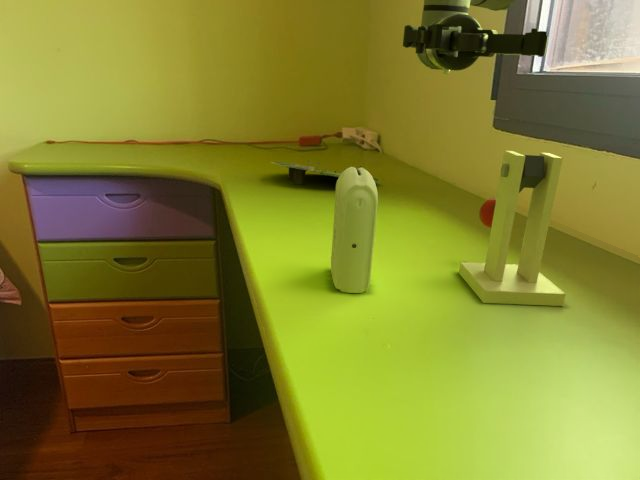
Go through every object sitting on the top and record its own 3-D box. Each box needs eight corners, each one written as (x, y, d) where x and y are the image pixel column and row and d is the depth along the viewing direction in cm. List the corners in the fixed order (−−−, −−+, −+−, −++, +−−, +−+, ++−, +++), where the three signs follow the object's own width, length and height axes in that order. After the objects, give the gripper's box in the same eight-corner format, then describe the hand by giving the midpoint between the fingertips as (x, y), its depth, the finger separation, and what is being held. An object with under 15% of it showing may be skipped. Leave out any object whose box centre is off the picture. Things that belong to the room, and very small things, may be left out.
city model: (404, 196, 146) (409, 166, 143) (333, 192, 128) (338, 157, 126) (316, 181, 160) (320, 153, 158) (242, 175, 143) (245, 144, 141)
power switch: (458, 273, 86) (477, 145, 79) (528, 276, 86) (554, 149, 79) (483, 303, 75) (508, 159, 68) (563, 306, 76) (596, 163, 69)
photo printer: (372, 294, 76) (383, 176, 70) (333, 293, 75) (341, 174, 69) (363, 269, 85) (372, 162, 79) (328, 268, 84) (335, 160, 79)
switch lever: (475, 231, 88) (475, 204, 88) (503, 232, 88) (503, 205, 89) (518, 181, 73) (518, 148, 73) (551, 183, 73) (551, 150, 74)
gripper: (527, 75, 110) (577, 78, 92) (372, 65, 108) (391, 66, 90) (536, 20, 107) (591, 12, 88) (377, 9, 105) (398, -2, 86)
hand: (490, 39), depth 89 cm, fingers open, 13 cm apart
